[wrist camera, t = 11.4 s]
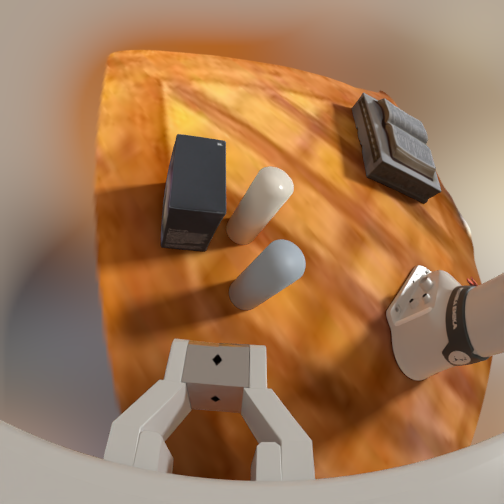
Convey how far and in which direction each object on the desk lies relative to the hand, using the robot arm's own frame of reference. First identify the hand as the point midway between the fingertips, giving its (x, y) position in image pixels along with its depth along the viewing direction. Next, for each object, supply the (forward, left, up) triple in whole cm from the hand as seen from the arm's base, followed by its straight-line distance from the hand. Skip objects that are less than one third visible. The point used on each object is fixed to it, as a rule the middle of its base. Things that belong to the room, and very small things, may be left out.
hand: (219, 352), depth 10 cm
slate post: (-15, +2, -27) cm, 31 cm away
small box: (-17, -11, -27) cm, 34 cm away
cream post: (-22, -4, -27) cm, 35 cm away
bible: (-67, +9, -27) cm, 73 cm away
